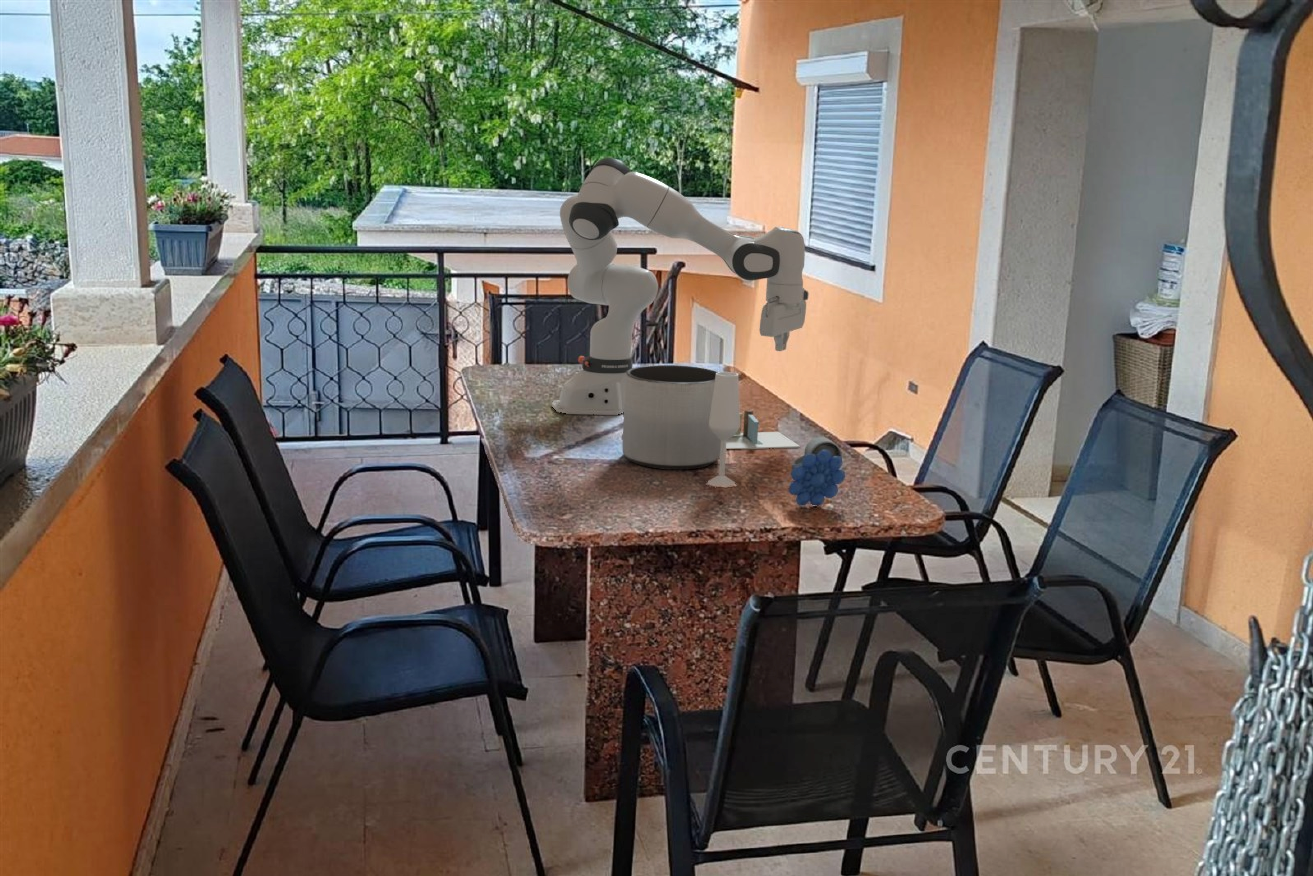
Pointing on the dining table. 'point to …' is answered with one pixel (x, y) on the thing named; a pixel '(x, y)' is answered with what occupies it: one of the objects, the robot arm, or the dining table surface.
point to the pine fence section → (745, 429)
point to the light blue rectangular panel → (753, 428)
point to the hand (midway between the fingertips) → (780, 350)
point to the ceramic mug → (818, 449)
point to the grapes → (816, 478)
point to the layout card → (761, 441)
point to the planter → (669, 417)
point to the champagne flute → (724, 417)
